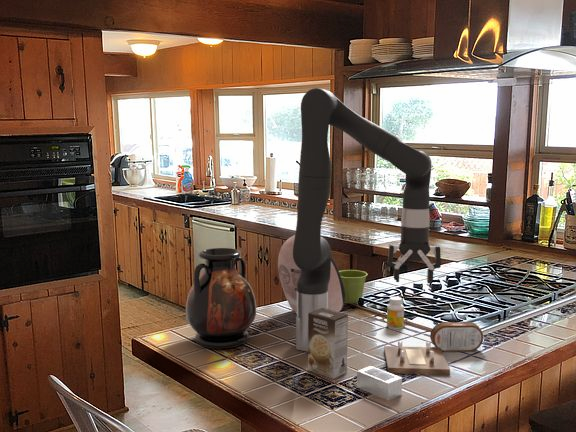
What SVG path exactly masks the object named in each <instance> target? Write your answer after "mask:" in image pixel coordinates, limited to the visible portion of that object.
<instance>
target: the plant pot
mask: <svg viewBox="0 0 576 432" xmlns="http://www.w3.org/2000/svg"><path fill="white" fill-rule="evenodd" d="M339 273H340V276H341V278H342V281H343V284H344V288H345V294H346V298H345V303H346V304H358V300H359V298H363V294H364V287H365V283H366V279H367V276H368V274H369V273H367V272H366V271H364V270H363V271H362V270H357V269H344V270H339ZM345 303H344V304H345Z"/></svg>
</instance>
